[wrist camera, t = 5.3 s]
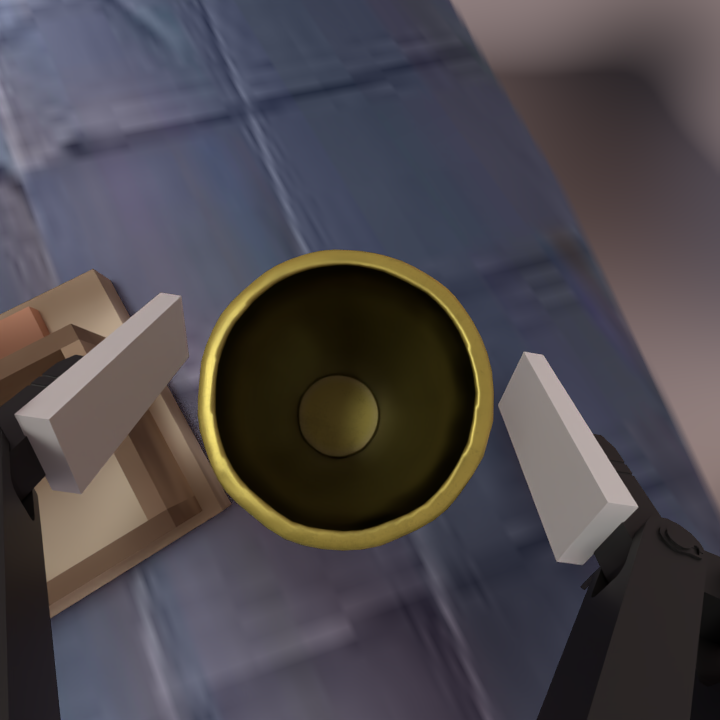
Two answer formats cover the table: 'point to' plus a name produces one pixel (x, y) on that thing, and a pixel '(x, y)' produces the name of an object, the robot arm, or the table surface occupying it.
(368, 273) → the vase
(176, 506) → the tray
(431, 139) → the table surface
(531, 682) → the table surface
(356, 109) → the table surface
